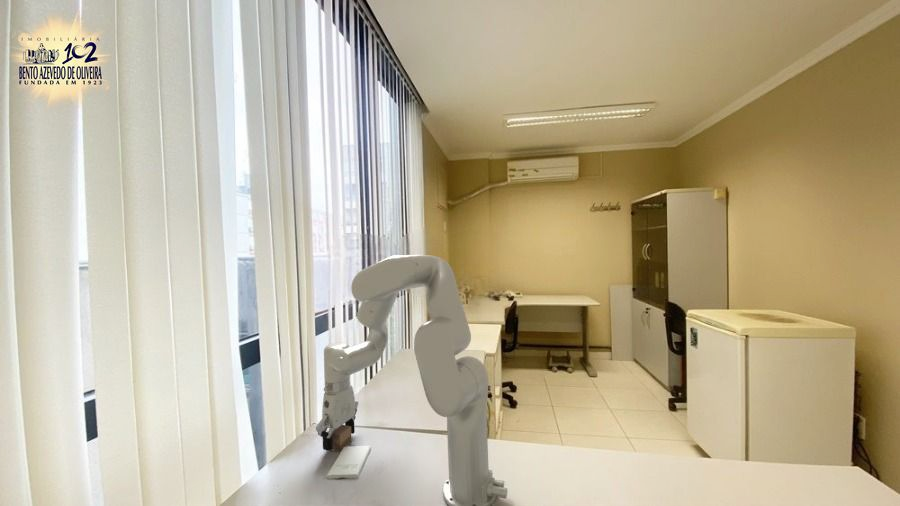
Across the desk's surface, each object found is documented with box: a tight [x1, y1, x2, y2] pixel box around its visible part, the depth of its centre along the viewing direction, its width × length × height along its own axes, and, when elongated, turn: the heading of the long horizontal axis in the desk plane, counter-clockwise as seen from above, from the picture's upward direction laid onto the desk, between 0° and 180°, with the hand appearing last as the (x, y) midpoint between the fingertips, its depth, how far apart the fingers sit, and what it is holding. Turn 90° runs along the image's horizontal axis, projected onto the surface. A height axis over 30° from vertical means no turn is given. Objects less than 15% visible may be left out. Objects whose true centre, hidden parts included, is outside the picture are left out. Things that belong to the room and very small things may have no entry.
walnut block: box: [326, 424, 353, 453], centre depth 97 cm, size 5×5×5 cm
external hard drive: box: [326, 445, 372, 480], centre depth 88 cm, size 2×8×12 cm
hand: (339, 440), depth 97 cm, fingers open, 9 cm apart
